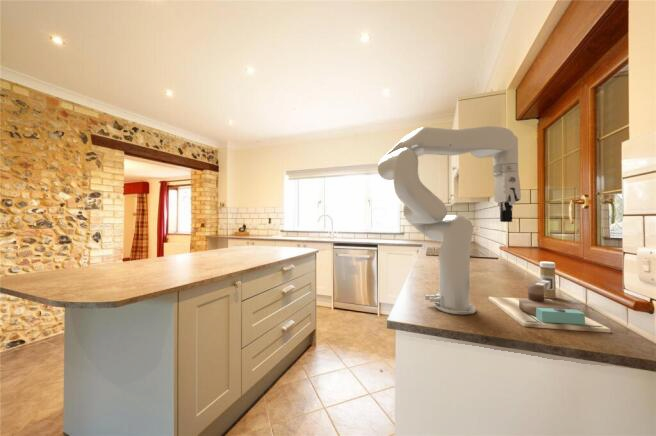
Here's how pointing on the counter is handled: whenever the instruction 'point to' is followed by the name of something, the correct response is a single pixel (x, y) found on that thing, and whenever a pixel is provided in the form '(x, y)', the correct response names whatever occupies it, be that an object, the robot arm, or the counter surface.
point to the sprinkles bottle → (548, 272)
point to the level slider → (560, 316)
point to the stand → (531, 321)
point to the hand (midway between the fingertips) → (506, 221)
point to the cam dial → (539, 297)
